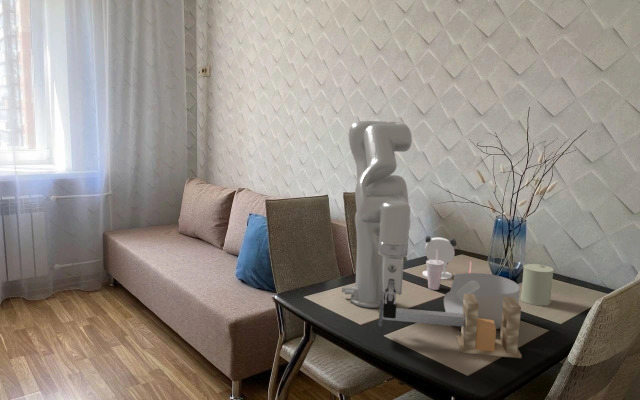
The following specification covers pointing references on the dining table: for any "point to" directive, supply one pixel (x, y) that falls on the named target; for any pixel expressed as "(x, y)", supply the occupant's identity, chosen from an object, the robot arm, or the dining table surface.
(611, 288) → the dining table surface
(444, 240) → the panda figurine
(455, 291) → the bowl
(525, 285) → the can
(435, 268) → the smoothie
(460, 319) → the shaft
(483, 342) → the block
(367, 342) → the dining table surface
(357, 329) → the dining table surface
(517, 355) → the bracket
